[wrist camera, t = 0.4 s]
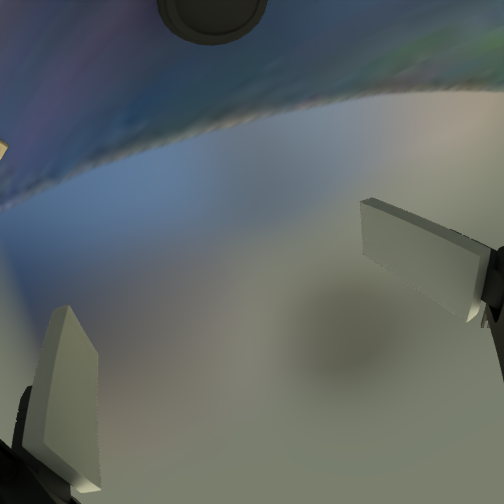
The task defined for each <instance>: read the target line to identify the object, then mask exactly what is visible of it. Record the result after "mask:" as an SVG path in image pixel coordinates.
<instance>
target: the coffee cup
mask: <svg viewBox="0 0 504 504" xmlns="http://www.w3.org/2000/svg"><path fill="white" fill-rule="evenodd" d="M267 1H268V0H157V3H158V10H159V14H160V16H161V18H162V20H163V22H164V24H165V25H166V26H167V27H168V28H169V29H170V30H171V32H172V33H174V34H175V35H177V36H179V37H180V38H182V39H184V40H187V41H190V42H193V43H196V44H201V45H219V44H226V43H229V42H231V41H234V40H237V39H239V38H241V37H242V36H244V35H245V34H247V33H249V32H250V31H251V30H252V29H253V28H254V27H255V26H256V25H257V24H258V23H259V21H260V19H261V17H262V16H263V14H264V12H265V9H266V5H267Z"/></svg>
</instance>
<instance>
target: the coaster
mask: <svg viewBox="0 0 504 504" xmlns="http://www.w3.org/2000/svg"><path fill="white" fill-rule="evenodd" d="M8 146H9V145H8V144H6V143H5V142H3V141H2V140H0V160H1V158H2V156H3V154H4V153H5V151H6V149H7V148H8Z"/></svg>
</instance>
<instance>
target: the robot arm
mask: <svg viewBox="0 0 504 504" xmlns="http://www.w3.org/2000/svg"><path fill="white" fill-rule="evenodd" d="M360 211H361V224H362V240H363V241H362V242H363V255H365V256H366V257H368V258H370V259H371V260H373V261H374V262H376V263H378V264H379V265H381V266H382V267H384V268H385V269H387V270H389V271H390V272H392V273H393V274H395V275H396V276H398V277H399V278H401V279H403V280H404V281H406V282H407V283H409V284H410V285H412V286H413V287H415V288H416V289H418V290H419V291H421V292H422V293H424V294H425V295H427V296H428V297H430V298H431V299H433V300H434V301H436V302H437V303H439V304H440V305H442V306H443V307H444V308H446V309H447V310H449V311H450V312H452V313H453V314H455V315H456V316H457V317H459V318H461V319H462V320H463V321H465V322H468V321H469V320H471V319H472V318H473V317H474V316H475V315H476V314H478V310H479V306H480V302H481V300H482V301H484V302H485V303H486V307H485V311H484V315H483V318H482V322H481V328H484V324H485V321H487V320H488V325H487V328H490V329H491V333H492V336H493V339H494V343H495V347H496V350H497V355H498V359H499V363H500V367H501V371H502V376H503V381H504V246H503V247H500V248H499V249H498V251H496V250H494V249H492V248H490V247H488V246H486V245H484V244H482V243H480V242H478V241H476V240H473V239H470V238H469V237H467V236H465V235H462V234H461V233H458V232H456V231H454V230H452V229H448V228H445V227H443V226H441V225H439V224H436V223H434V222H432V221H429V220H427V219H425V218H422V217H420V216H417V215H415V214H413V213H410V212H408V211H405V210H403V209H401V208H398V207H396V206H393V205H390V204H388V203H385V202H383V201H380V200H378V199H375V198H370V199H366V200H363V201H360ZM98 357H99V355H98V353H97V352H96V350H95V348H94V347H93V345H92V344H91V342H90V340H89V339H88V337H87V335H86V334H85V332H84V330H83V329H82V327H81V325H80V323H79V322H78V320H77V318H76V316H75V315H74V313H73V311H72V309H71V307H70V306H69V304H68V305H65V306H62V307H60V308H57V309H54V310H53V313H52V316H51V319H50V322H49V325H48V329H47V332H46V335H45V339H44V342H43V346H42V350H41V353H40V357H39V361H38V365H37V369H36V373H35V377H34V381H33V385H32V386H28V387H27V388H26V390H25V392H24V393H23V395H22V397H21V399H20V404H19V409H18V411H19V412H18V413H17V418H16V420H17V422H16V423H15V429H14V434H13V441H12V447H11V448H10V447H9V446H7V445H6V444H5V443H4V442H3V441H2V440H1V439H0V504H81V503H80V502H79V501H78V500H77V499H76V498H74V497H73V496H71V493H70V485H71V486H72V487H74V488H75V489H77V490H78V491H80V492H81V493H85V492H91V491H99V490H102V487H101V477H100V464H99V450H98V449H99V448H98V421H97V384H98Z"/></svg>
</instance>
